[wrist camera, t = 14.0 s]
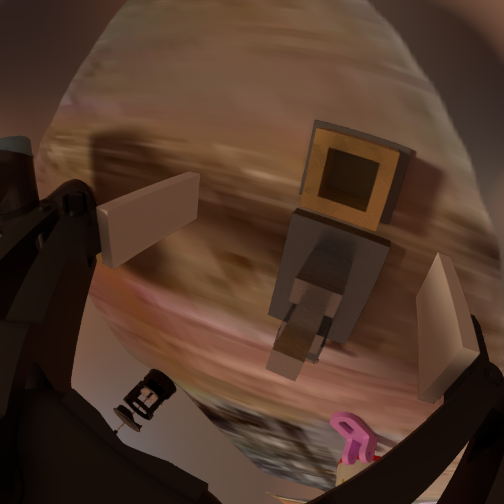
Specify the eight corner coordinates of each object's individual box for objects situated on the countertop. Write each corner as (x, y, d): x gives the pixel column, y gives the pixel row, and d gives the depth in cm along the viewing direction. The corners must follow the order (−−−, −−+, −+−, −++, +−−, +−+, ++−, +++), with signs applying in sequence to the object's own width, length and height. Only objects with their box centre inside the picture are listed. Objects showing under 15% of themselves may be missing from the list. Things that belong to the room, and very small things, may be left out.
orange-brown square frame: (311, 193, 32) (299, 205, 28) (326, 127, 28) (316, 127, 24) (377, 216, 30) (375, 231, 26) (397, 148, 26) (399, 153, 22)
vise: (269, 320, 44) (217, 396, 31) (297, 208, 35) (233, 269, 22) (340, 349, 41) (308, 436, 28) (390, 240, 31) (385, 328, 18)
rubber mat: (300, 192, 34) (299, 194, 33) (315, 119, 29) (314, 119, 28) (388, 222, 30) (388, 224, 30) (411, 148, 26) (411, 149, 25)
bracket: (378, 438, 47) (371, 465, 41) (356, 442, 50) (348, 467, 44) (349, 408, 46) (340, 438, 40) (326, 413, 49) (316, 441, 44)
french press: (169, 373, 68) (113, 432, 49) (183, 396, 71) (134, 453, 52) (141, 364, 74) (89, 415, 55) (155, 386, 77) (108, 436, 58)
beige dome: (367, 449, 49) (349, 504, 37) (401, 466, 48) (388, 516, 36) (329, 460, 58) (309, 507, 46) (363, 476, 56) (347, 520, 44)
